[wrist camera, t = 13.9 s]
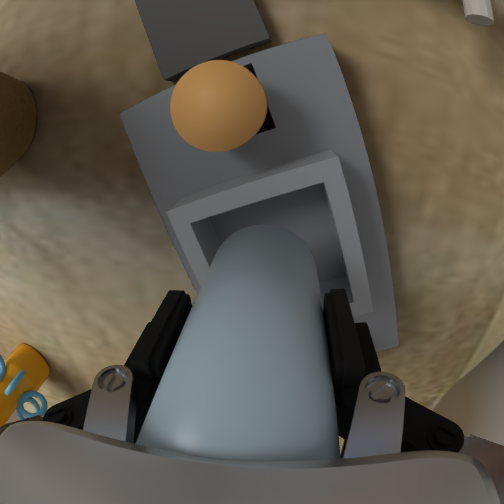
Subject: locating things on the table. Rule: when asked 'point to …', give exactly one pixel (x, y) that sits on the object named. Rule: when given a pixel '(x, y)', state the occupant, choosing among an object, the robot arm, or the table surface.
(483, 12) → the pipe connector
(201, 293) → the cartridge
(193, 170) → the housing
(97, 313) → the table surface
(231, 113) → the light orange ball
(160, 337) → the robot arm
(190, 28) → the mat
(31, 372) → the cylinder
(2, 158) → the plant pot
